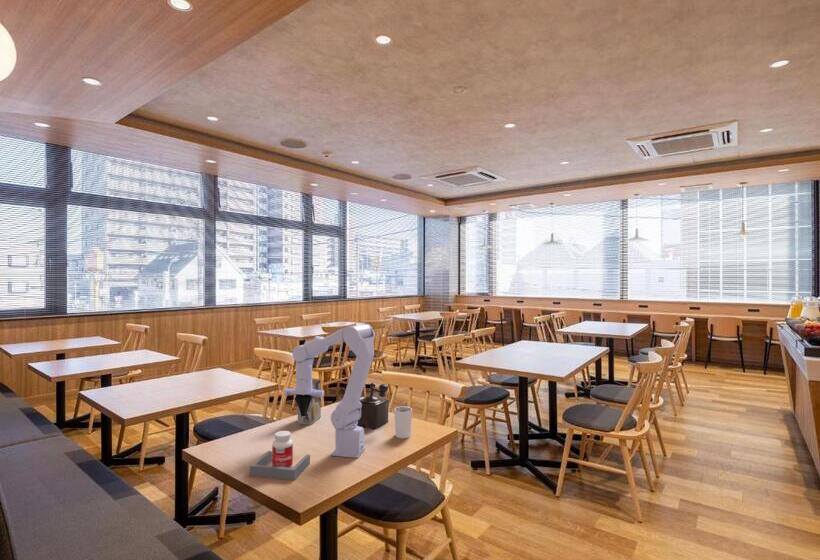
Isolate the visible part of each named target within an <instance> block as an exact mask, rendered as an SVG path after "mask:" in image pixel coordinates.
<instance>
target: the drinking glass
mask: <svg viewBox="0 0 820 560" xmlns="http://www.w3.org/2000/svg"><path fill="white" fill-rule="evenodd" d="M412 418H413V408H412V407H409V406H406V405H405V406H396V407H395V408H394V427H395V428H394V430H395V431H394V433H395V434H394V435H395V436H394V437H396V438H399V439H407V438H408V439H409V438H410V437H412V420H413V419H412Z"/></svg>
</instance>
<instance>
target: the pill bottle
mask: <svg viewBox="0 0 820 560" xmlns="http://www.w3.org/2000/svg"><path fill="white" fill-rule="evenodd" d="M271 451H272V461H271V466H276V467H286V468H293V461H294V458H293V457H294V456H293V455H294V442H293V439H291V431H288V430H280V431H277V432H275V433H274V440H273V441H272V446H271Z"/></svg>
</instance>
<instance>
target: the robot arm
mask: <svg viewBox="0 0 820 560" xmlns="http://www.w3.org/2000/svg"><path fill="white" fill-rule="evenodd" d="M375 338H376V333H375V332H374V329H373V327H372V326H371V325H370V324H368V323H362V324H358V325H350V326H349V325H348V326H346V327H344V328H341V329H338V330H336V331H335V332H333V333H330V334H329V335H328V336H325V337H324V336H319V335H317V336H314V337H313V339H312V340H310V341H308V340H306V341H304V344H301V345H300V344H299V345H296V346H295V347H294V348H293V350H292V358H293V359H294V360H295V388H291V387H289V388H287V387H286V388H285V389H284V390H283V392H284V393H283V395H285V396H288V395H290V396H295V397H294V402H296V404H297V408H298V407H299V409H300V413H301V416H306V415H307V411H308V407H309V404H310V402H311V400H312V398H313V396H318V397H321V398H324V397H325V390H322V389H321V390H316V389H312V380H313V363H314V360H315V359H314V358H315V357H317V356H319V355H321V354H324V353H326V352H327V351H328V350H329V347H330V346H333V345H335V344H337V343H339V342H341V343H345V344H346V345H347V346H348V348H349V349H350V350H351V351H352V353H354V354H355V356H356V357H355V360H354V363H353V365H352V369H351V373H350V376H349V379H348V383H347V385H346V388H345V391H344V395H343V398H341V400H340V401H339V402H338V404H337V405H336V408H335V409H334V410H333V411H332V413H331V414H330V421H331V424H332V426H333V428H334V429H335V437H334V438H335V442H334V443H335V444H334V445H335V449H334V450H333V451H332V452H331V454H330V456H332V457H344V458H354V459H355V458H359V457H360V456H361V454H362V453H363V452H364V450H365V429H364V428H365V427H361V426H357V424H358V420H359V419H360V418H361V407H362V404H361V402H360V401H359V400H360V398H361V397H362V394H363V391H364V387H365V385H366V381H367V378H368V375H369V373H370V369H371V366H372V363H373V360H374V357H375V346H374V345H375V344H374V340H375Z"/></svg>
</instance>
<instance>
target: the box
mask: <svg viewBox="0 0 820 560" xmlns="http://www.w3.org/2000/svg"><path fill="white" fill-rule="evenodd" d="M271 462H272V450H267V451H266V452H265V453H264V454H263V455H261V456H260V457H259V458H258V459H256V460H255V461H254V462H253V463H251V464H250V465H249V476H250V477H259V478H265V479H266V478H267V479H279V480H286V481H287V480H288V481H296V479H297V478H299V476H300V475H301V474H302V473H303V472H304V471H305V470H306V469H307V468H308V467H309V466H310V465H311V454H305V455H304V456H303V457H302V458H301V459H300V460H299V461H298V462H297V463H296V464H295V465H294V466H292V468H286V467H276V466H272V465H268V464H269V463H271Z"/></svg>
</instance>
